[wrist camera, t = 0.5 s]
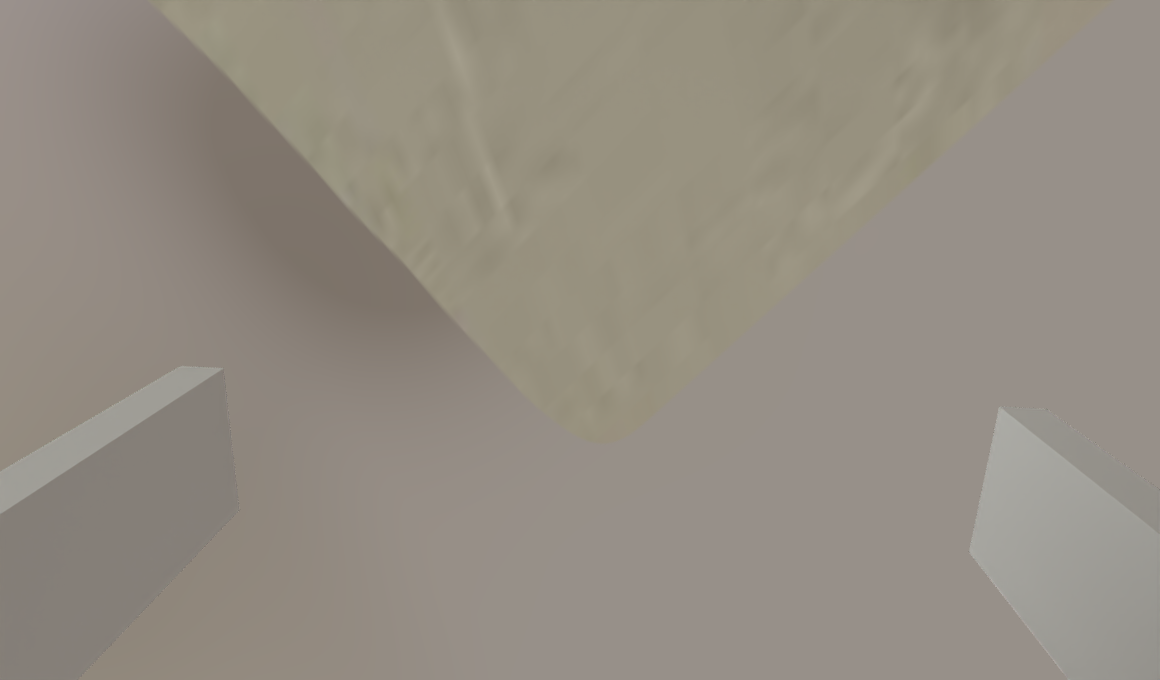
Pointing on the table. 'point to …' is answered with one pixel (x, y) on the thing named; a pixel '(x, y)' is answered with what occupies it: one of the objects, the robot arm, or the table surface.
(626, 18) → the table surface
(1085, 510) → the robot arm
